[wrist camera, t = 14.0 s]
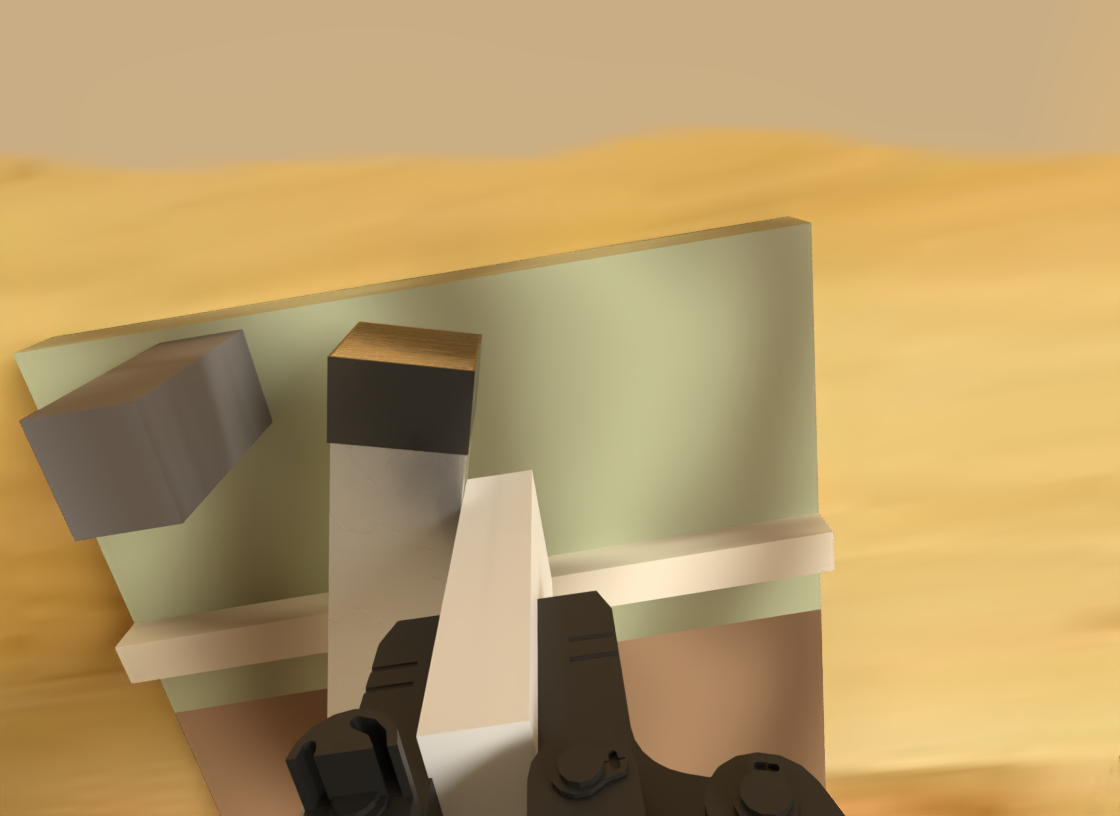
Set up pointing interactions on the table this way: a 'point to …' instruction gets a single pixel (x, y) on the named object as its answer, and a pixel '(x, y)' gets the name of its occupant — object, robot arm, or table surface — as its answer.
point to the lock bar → (392, 485)
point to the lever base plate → (496, 448)
